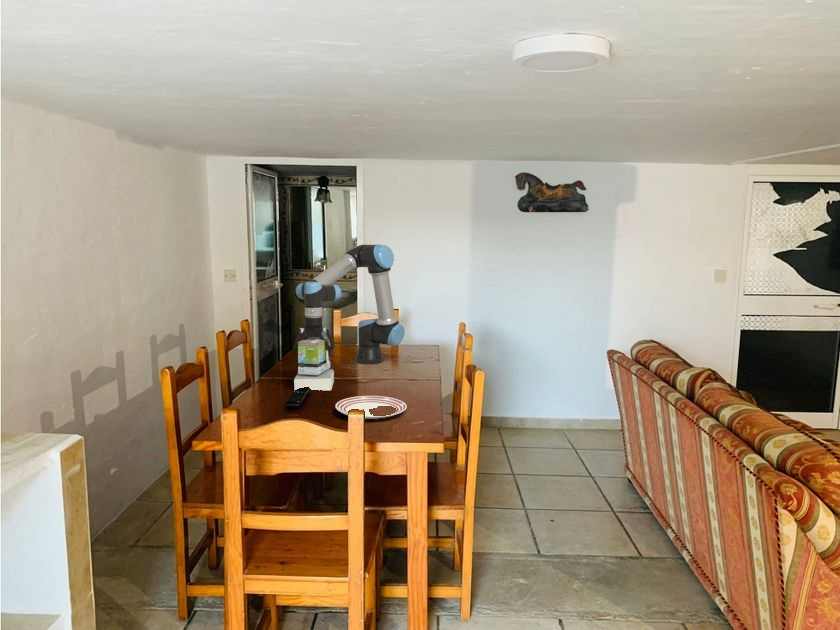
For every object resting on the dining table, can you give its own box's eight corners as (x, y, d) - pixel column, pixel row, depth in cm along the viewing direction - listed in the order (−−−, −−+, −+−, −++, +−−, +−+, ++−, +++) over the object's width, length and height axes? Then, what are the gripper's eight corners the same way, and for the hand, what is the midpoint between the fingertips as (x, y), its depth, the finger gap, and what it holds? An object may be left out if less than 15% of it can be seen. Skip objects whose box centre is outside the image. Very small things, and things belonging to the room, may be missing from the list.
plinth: (333, 381, 268) (333, 368, 268) (331, 390, 253) (330, 377, 252) (299, 381, 267) (299, 369, 266) (294, 390, 251) (294, 377, 251)
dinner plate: (406, 402, 235) (406, 394, 235) (406, 424, 208) (406, 415, 208) (339, 402, 235) (339, 395, 234) (331, 424, 207) (331, 415, 207)
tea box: (319, 375, 251) (318, 342, 249) (297, 374, 253) (296, 341, 251) (331, 368, 265) (330, 336, 263) (310, 367, 267) (309, 335, 265)
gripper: (285, 317, 251) (286, 366, 254) (339, 317, 253) (340, 366, 256) (288, 315, 259) (289, 363, 262) (340, 315, 260) (341, 362, 263)
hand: (314, 364), depth 259 cm, fingers closed on tea box, 11 cm apart
